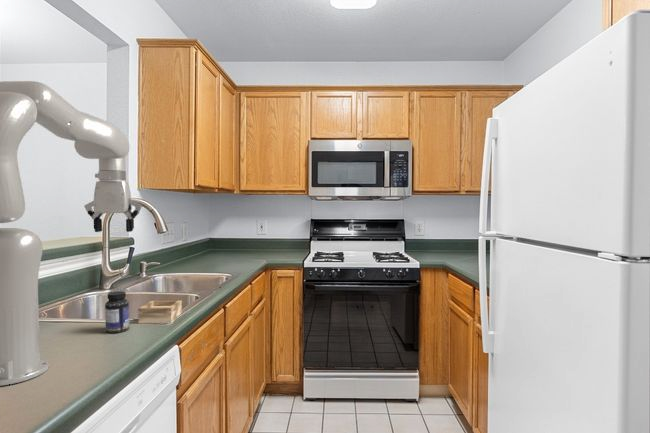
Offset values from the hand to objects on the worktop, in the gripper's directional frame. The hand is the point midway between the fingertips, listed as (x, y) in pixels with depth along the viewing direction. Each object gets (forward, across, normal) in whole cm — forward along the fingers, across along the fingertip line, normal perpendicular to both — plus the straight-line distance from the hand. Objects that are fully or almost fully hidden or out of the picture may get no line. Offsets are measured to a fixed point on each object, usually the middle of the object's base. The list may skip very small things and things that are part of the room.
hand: (114, 231), depth 130 cm
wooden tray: (+28, +14, 0) cm, 31 cm away
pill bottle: (+28, +6, -12) cm, 31 cm away
